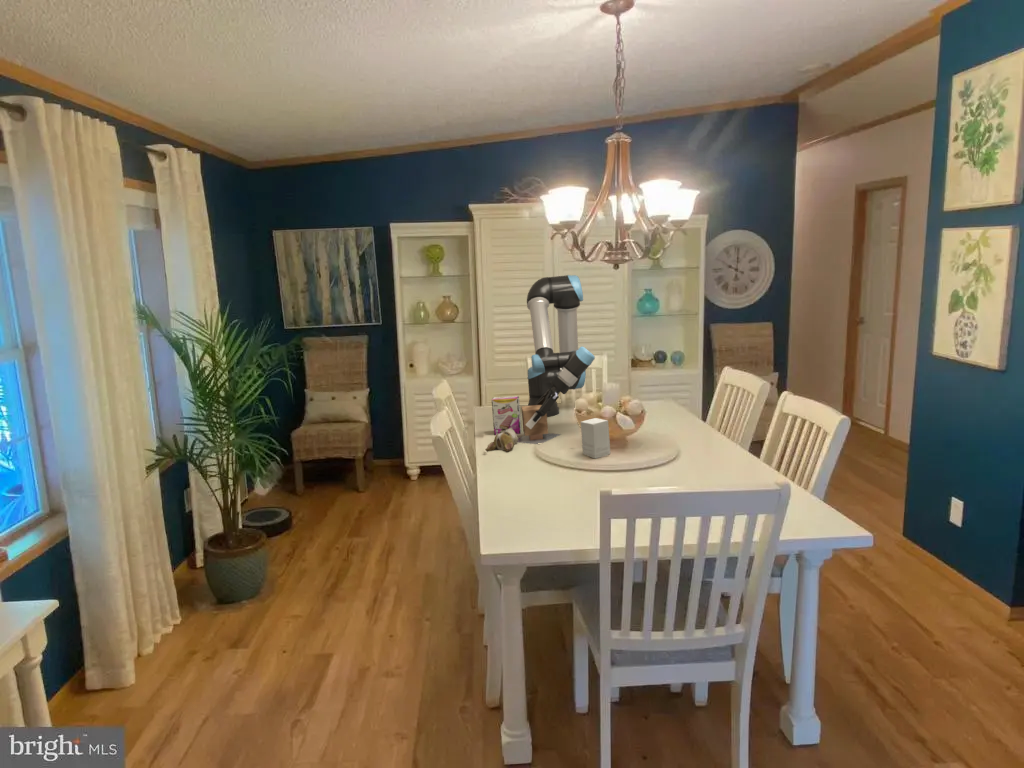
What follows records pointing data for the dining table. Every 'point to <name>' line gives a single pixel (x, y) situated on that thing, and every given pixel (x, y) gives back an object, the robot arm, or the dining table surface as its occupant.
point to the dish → (536, 437)
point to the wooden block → (540, 426)
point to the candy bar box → (506, 414)
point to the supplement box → (595, 437)
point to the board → (545, 438)
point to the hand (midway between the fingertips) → (526, 424)
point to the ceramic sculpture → (504, 440)
